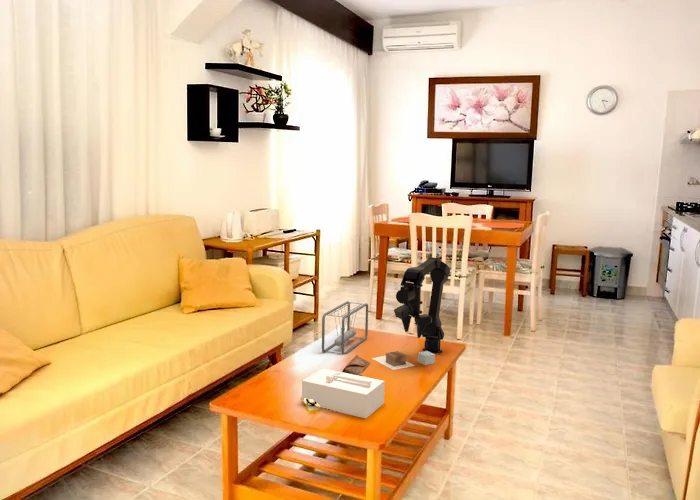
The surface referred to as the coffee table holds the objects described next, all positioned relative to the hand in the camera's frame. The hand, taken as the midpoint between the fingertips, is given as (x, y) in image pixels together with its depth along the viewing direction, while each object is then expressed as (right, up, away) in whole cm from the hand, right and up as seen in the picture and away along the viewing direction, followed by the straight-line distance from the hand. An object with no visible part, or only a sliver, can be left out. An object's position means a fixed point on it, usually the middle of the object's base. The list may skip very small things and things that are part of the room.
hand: (412, 334), depth 254 cm
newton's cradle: (-28, -9, +24) cm, 38 cm away
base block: (-7, -12, -2) cm, 14 cm away
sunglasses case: (-23, -14, -7) cm, 28 cm away
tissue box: (-29, -19, -41) cm, 53 cm away
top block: (+6, -13, +1) cm, 14 cm away
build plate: (-8, -12, 0) cm, 15 cm away
